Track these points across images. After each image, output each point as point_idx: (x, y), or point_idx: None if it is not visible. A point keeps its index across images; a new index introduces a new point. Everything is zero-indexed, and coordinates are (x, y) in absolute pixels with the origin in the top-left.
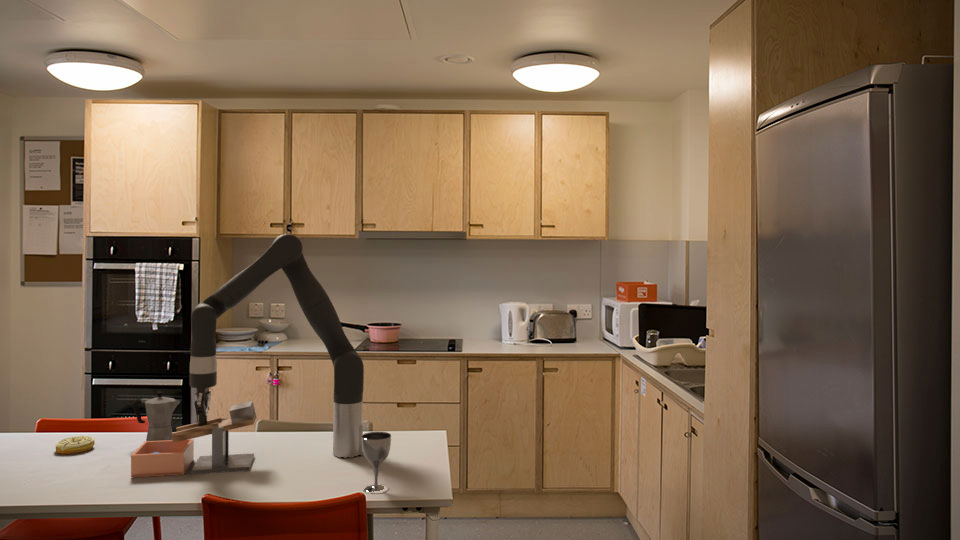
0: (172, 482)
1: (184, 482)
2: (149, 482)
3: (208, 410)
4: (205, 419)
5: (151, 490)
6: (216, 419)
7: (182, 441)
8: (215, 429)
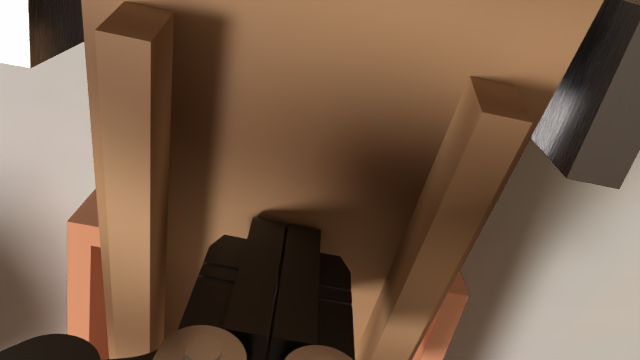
0: (539, 259)
1: (579, 203)
2: (474, 350)
3: (96, 350)
4: (317, 309)
5: (608, 341)
6: (152, 110)
7: (92, 290)
8: (636, 133)
